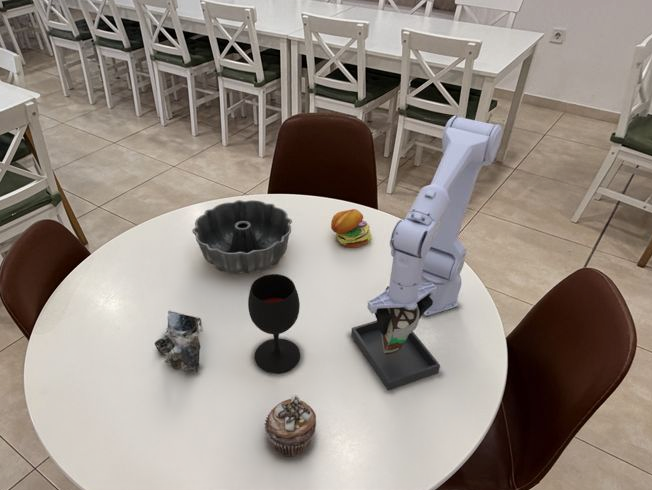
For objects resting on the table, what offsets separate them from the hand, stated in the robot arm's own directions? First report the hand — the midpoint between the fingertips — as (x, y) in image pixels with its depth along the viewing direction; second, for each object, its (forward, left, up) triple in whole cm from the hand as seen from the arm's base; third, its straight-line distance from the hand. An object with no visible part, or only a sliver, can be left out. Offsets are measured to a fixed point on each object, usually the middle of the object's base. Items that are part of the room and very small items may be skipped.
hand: (397, 326), depth 105 cm
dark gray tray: (0, 0, -8) cm, 8 cm away
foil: (+43, -19, -9) cm, 48 cm away
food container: (0, 0, -3) cm, 4 cm away
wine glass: (+24, -9, -9) cm, 27 cm away
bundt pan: (+19, -48, -8) cm, 53 cm away
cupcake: (+29, +12, -9) cm, 33 cm away
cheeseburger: (-11, -43, -9) cm, 45 cm away
